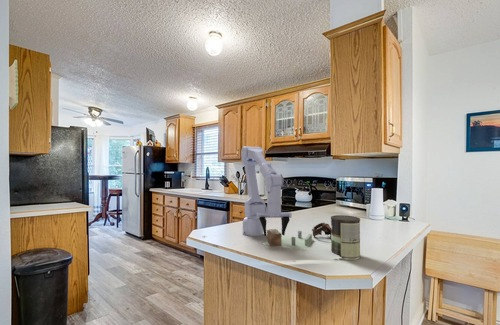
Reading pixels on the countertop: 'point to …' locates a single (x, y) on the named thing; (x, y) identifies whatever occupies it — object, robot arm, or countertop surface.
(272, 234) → the brown block
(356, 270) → the countertop surface
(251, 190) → the robot arm
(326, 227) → the brown clay pot
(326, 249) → the countertop surface
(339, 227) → the coffee can
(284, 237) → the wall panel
